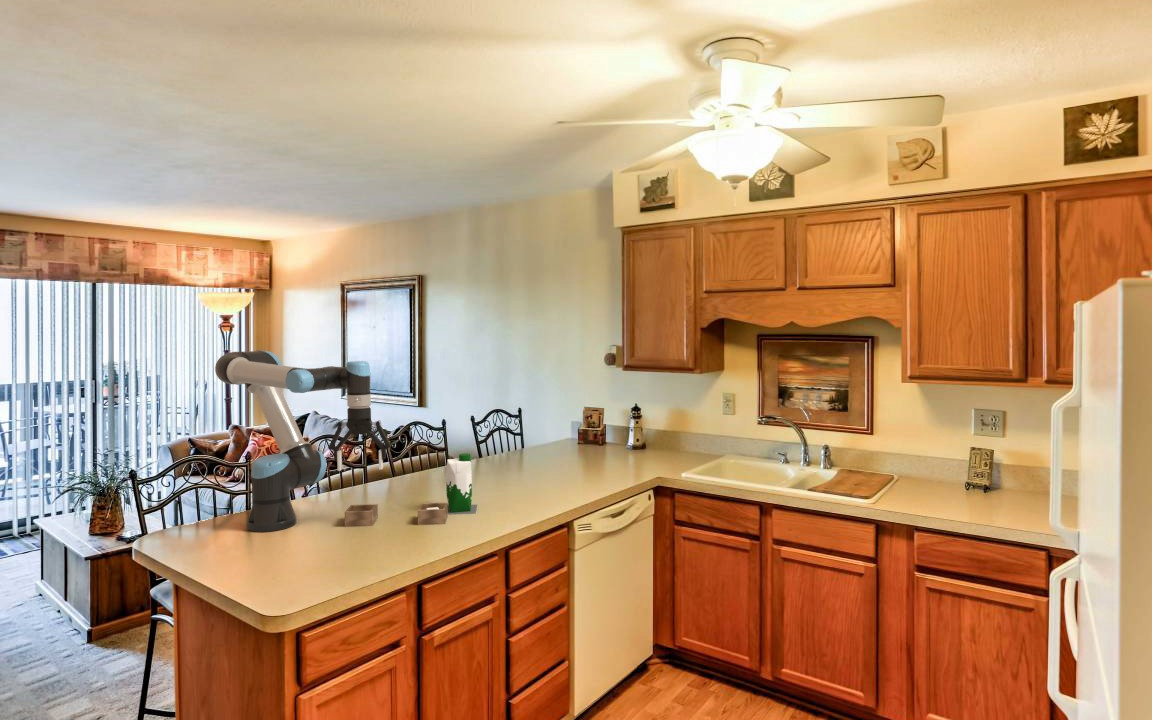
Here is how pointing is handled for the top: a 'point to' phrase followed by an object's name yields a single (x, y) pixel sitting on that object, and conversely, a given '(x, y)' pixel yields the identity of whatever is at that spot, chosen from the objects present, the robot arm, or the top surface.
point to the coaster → (473, 511)
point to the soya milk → (459, 483)
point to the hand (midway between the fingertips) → (360, 469)
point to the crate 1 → (361, 515)
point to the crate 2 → (432, 514)
